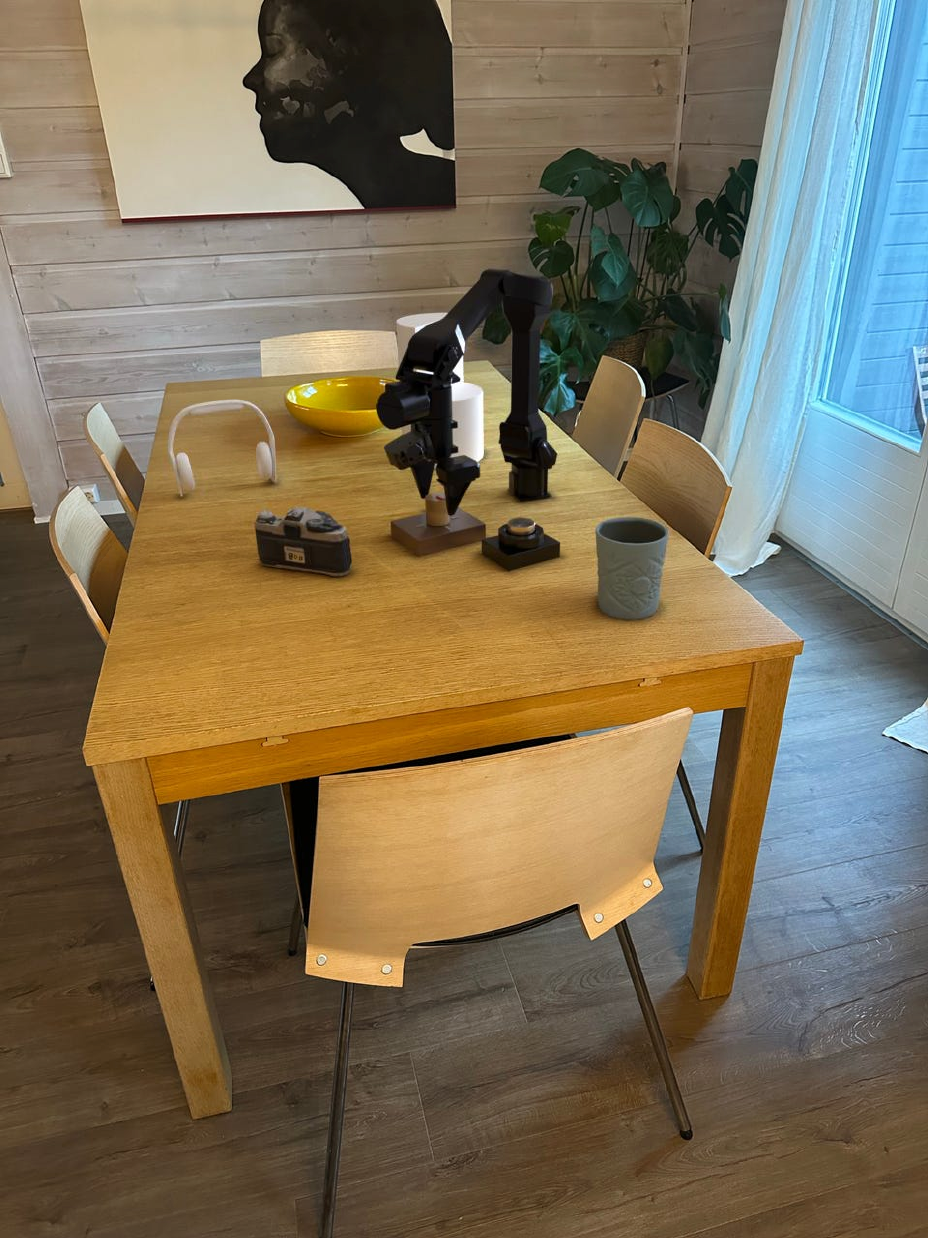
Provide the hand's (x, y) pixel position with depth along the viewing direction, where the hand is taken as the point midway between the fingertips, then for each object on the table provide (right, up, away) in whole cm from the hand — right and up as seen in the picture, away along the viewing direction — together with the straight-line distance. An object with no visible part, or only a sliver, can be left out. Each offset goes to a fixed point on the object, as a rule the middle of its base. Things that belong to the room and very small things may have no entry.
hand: (437, 506), depth 151 cm
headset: (-42, +6, +25) cm, 49 cm away
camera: (-20, -10, -5) cm, 23 cm away
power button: (+14, -5, -6) cm, 16 cm away
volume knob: (0, -2, +1) cm, 3 cm away
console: (0, -5, +3) cm, 6 cm away
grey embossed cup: (+28, -17, -20) cm, 39 cm away
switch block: (+14, -9, -4) cm, 17 cm away
